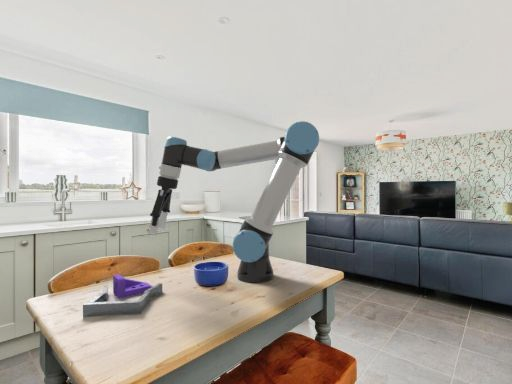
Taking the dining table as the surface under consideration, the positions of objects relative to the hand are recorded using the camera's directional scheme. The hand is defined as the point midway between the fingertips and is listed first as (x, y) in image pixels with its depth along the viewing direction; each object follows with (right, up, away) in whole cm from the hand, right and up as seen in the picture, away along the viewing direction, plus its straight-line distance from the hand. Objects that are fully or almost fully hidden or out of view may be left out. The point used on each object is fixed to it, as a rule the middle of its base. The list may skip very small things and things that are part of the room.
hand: (156, 230), depth 108 cm
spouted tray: (-5, -21, -17) cm, 28 cm away
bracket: (-6, -22, -7) cm, 24 cm away
